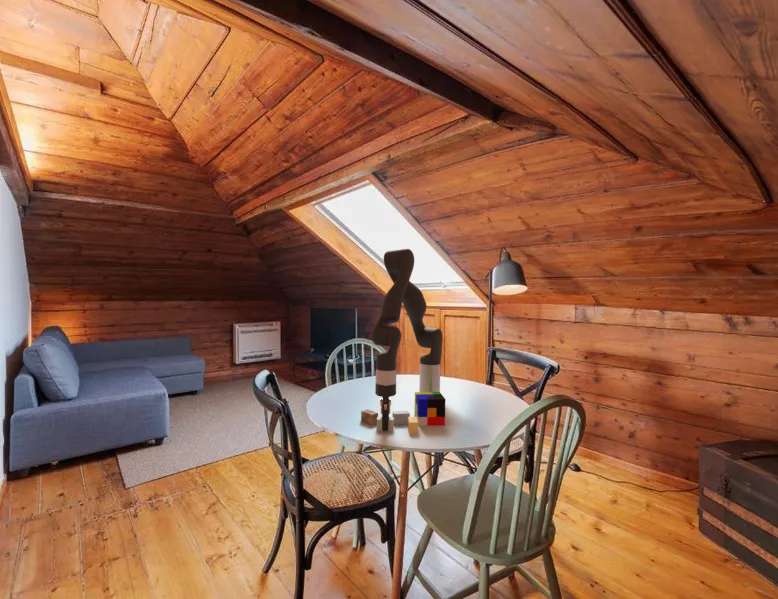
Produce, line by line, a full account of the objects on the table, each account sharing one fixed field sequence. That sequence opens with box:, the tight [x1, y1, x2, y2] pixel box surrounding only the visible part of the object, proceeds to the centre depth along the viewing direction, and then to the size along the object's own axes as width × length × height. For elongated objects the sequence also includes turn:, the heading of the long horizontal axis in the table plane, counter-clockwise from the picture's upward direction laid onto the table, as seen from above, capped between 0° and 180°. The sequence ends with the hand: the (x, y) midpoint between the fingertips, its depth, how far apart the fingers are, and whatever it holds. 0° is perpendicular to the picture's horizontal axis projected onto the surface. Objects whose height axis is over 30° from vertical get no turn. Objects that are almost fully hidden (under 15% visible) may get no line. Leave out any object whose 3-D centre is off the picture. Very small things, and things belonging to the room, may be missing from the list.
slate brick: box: [391, 410, 411, 425], centre depth 150 cm, size 6×3×4 cm, turn 101°
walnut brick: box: [360, 408, 379, 426], centre depth 150 cm, size 6×3×4 cm, turn 45°
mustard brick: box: [407, 416, 419, 434], centre depth 142 cm, size 6×3×4 cm, turn 1°
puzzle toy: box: [413, 391, 446, 427], centre depth 152 cm, size 10×10×10 cm
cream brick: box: [376, 416, 395, 432], centre depth 143 cm, size 6×3×4 cm, turn 90°
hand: (385, 426), depth 143 cm, fingers open, 6 cm apart
